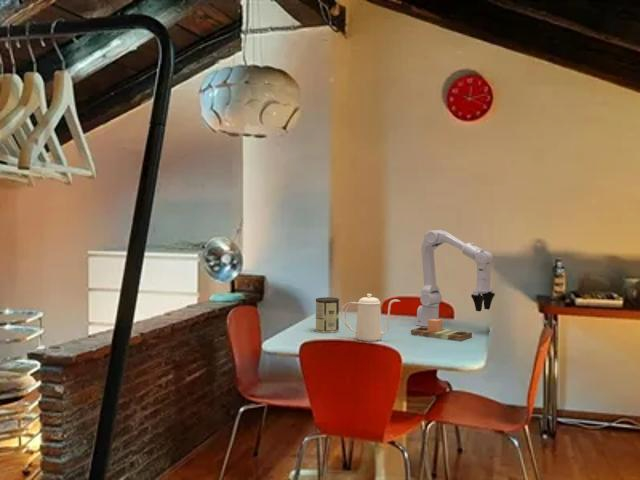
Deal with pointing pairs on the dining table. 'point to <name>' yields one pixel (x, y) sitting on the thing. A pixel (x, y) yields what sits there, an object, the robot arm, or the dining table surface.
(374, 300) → the coffeepot
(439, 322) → the block
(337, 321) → the coffee can
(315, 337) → the dining table surface
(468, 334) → the board
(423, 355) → the dining table surface
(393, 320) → the dining table surface
